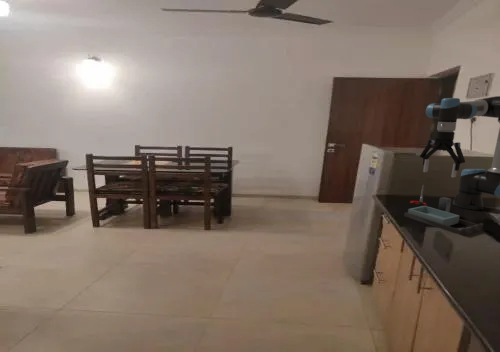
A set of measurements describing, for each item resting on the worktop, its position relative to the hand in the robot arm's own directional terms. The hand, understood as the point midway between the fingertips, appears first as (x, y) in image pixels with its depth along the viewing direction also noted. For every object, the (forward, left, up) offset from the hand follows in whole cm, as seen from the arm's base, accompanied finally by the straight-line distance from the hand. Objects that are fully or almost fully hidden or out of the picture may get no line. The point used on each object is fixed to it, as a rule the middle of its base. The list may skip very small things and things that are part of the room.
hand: (438, 174), depth 154 cm
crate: (-1, 0, -24) cm, 24 cm away
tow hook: (-25, -23, -25) cm, 43 cm away
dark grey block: (-16, -3, -25) cm, 30 cm away
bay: (-1, +4, -25) cm, 25 cm away
